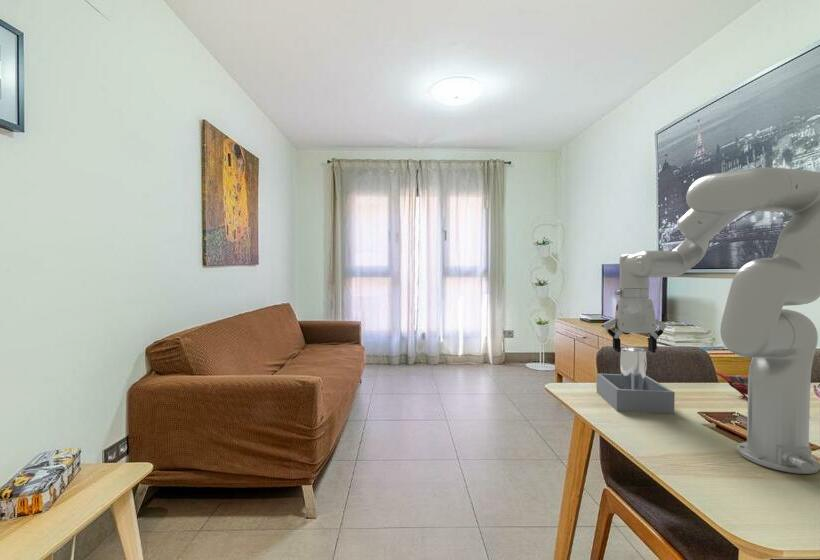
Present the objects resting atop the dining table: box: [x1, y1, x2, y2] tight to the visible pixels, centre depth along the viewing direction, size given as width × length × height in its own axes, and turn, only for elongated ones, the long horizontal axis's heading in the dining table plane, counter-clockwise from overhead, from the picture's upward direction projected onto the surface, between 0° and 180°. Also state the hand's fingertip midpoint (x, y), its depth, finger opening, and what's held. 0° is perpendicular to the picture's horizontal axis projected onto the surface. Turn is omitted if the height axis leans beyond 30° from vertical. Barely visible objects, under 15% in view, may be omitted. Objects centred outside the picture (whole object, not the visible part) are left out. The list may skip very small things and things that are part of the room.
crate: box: [596, 373, 676, 414], centre depth 120 cm, size 18×15×6 cm
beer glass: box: [619, 346, 647, 390], centre depth 120 cm, size 7×7×15 cm
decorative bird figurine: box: [713, 370, 749, 401], centre depth 124 cm, size 3×18×10 cm, turn 14°
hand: (634, 351), depth 119 cm, fingers open, 9 cm apart
